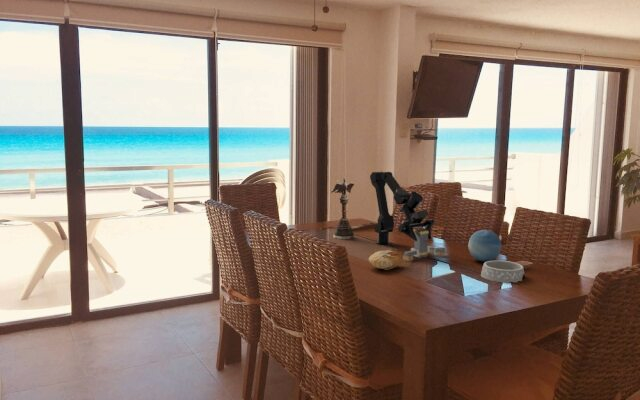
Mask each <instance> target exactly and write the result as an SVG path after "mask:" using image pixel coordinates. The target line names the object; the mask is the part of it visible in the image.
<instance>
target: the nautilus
mask: <svg viewBox="0 0 640 400" xmlns="http://www.w3.org/2000/svg"><path fill="white" fill-rule="evenodd" d="M402 252H403V251H402V250H401V251H400V254H398V252H397V251H393V250H388V249H387V250H386V249H385V250H378V251H376V252H374V253H372V254H371V255H370V256H369V257H368V261H369V262H370V264H371V265H372V266H373V267H375V268H377V269H380V270H384V271H389V270H392V269H394V268H396V267H401V266H402V267H403V268H406V266H407V264H408V263H411V261H410V260H408V261H406V259H405V260H403V259H402V257H403V256H405V254H406V253H405V254H404V253H402ZM406 257H407V255H406ZM409 257H411V256H409ZM405 261H406V262H405ZM403 263H404V264H403Z"/></svg>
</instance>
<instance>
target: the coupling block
mask: <svg viewBox="0 0 640 400" xmlns="http://www.w3.org/2000/svg"><path fill="white" fill-rule="evenodd" d="M413 231H414V233H415V235H416V238H417V241H415V240H413V243H414V244H413V246H414V247H413V248H415V249H418V250H419V256H418V257H417V256H414V257H416V258H418V259H422V258H424V259H425V258H428V255H429V253H428V246H429V245H428V242H429V239H428V233H429V231H427V230H424V229H423V228H421V229H413Z"/></svg>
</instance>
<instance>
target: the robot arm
mask: <svg viewBox="0 0 640 400" xmlns="http://www.w3.org/2000/svg"><path fill="white" fill-rule="evenodd" d="M369 179H370V182H371V185H372V186H373V187H374V189H375V194H376V200H377V201H376V202H377V207H378V212H379V215H378V218H377V224H376V226H374V233H377V234H378V236H377V237H378V238H377V240H378V241H376V242H375V244H377V245H387V246H388V245H389V244H391V243H392V241H390V233H393V231H394V228H395V221H394V216H393V215H392V214H390V213H389V207H388V202H387V201H388V199H387V193H386V185H387V187H388V188H389V189H390V191H391V192H392V194H393V199H394V201H395V203H396V205H397V206H400V205H401V207H400V210H399V213H403V214H404V216H405V220H404V221H402V222H401V223H400V224H399V225H398V227H397V230H398V232H399V233H402V234H405V235H406V236H408V237H409V238H411V239H413V241H414V240H415V241H417V238H416V235H415V233H414V229H415V228H417V229H418V228H421V229H424V230H427V231H429V233H428V241H429V240H430V241H431V239H432V235H431V232H432V231H431V229H433V226H434V225H435V224H436V222H435V220H434V219H432V218H431V219H425V218H427V217H428V216H430V215H429V211H428V210H427V209H422V210H420V211H416V209H417V208H418V207H419V205H421V203H422V201H423V200H424V199H423V196H422V195H421V194H420V193H417V191H415V190H414V191H412V192H411V193H409V192H408V190H406V189H404V188H402V187H401V185H400V184H399V183H398V181H397V180H396V178H395V177H394V176H393V173H392V171H372V172H371V174H370V175H369ZM424 219H425V221H424ZM423 221H424V222H423Z"/></svg>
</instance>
